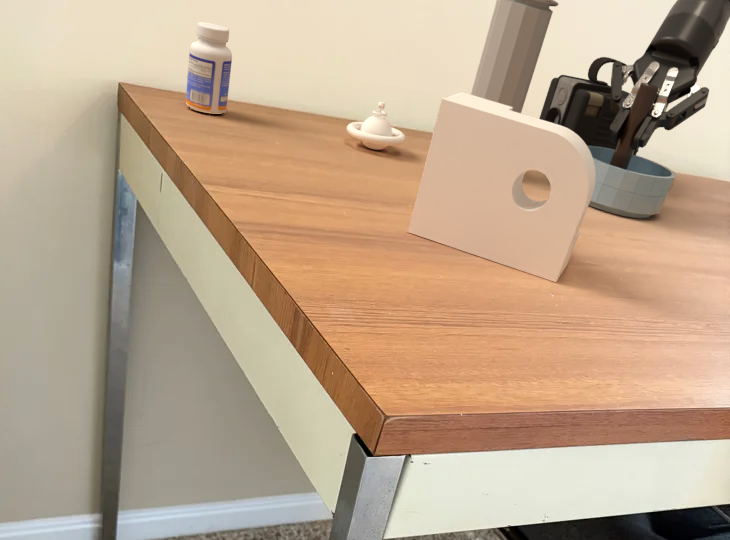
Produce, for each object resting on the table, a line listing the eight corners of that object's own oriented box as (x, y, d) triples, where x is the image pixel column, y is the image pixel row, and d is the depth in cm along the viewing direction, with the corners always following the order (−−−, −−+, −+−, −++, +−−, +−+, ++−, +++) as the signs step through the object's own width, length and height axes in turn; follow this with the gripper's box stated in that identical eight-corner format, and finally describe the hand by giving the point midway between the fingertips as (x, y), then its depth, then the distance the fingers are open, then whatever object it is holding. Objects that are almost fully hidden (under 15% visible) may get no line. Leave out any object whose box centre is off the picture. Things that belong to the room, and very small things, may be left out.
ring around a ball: (408, 160, 109) (395, 144, 115) (417, 113, 106) (404, 99, 112) (349, 152, 108) (340, 136, 114) (357, 104, 104) (347, 90, 110)
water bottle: (505, 179, 112) (574, -41, 97) (449, 165, 112) (510, -57, 97) (504, 164, 119) (569, -43, 104) (451, 151, 119) (508, -58, 104)
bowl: (613, 189, 121) (629, 149, 118) (677, 222, 112) (696, 180, 109) (545, 183, 115) (559, 142, 112) (607, 218, 106) (625, 174, 103)
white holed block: (407, 232, 85) (441, 98, 77) (436, 211, 93) (470, 89, 85) (555, 282, 82) (606, 148, 74) (572, 256, 90) (620, 133, 82)
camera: (518, 152, 128) (553, 42, 119) (591, 162, 133) (629, 58, 124) (553, 174, 121) (593, 59, 112) (629, 184, 126) (673, 75, 117)
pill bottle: (214, 105, 112) (223, 23, 107) (233, 117, 109) (242, 33, 103) (178, 102, 110) (184, 18, 104) (195, 114, 106) (203, 28, 100)
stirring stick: (612, 178, 114) (650, 83, 107) (631, 189, 111) (672, 91, 104) (591, 177, 112) (628, 79, 105) (610, 187, 110) (650, 87, 102)
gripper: (641, -3, 107) (576, 105, 106) (747, 26, 103) (680, 139, 101) (634, 43, 114) (573, 145, 113) (733, 72, 110) (670, 178, 108)
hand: (624, 141), depth 107 cm, fingers closed on stirring stick, 2 cm apart
